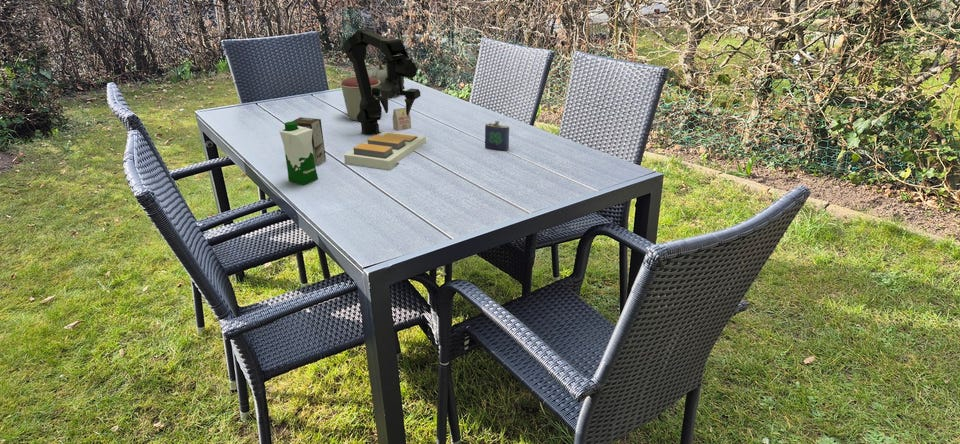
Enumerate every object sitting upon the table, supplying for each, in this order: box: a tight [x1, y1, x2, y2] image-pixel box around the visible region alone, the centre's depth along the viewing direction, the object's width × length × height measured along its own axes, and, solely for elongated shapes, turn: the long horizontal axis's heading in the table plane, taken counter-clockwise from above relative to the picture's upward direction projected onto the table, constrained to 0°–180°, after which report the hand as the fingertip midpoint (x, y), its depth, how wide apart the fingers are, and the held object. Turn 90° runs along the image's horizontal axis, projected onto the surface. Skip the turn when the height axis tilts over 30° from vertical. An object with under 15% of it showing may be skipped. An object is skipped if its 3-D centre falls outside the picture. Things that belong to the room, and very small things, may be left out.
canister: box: [339, 73, 380, 122], centre depth 262 cm, size 18×18×21 cm
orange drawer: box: [366, 134, 405, 150], centre depth 222 cm, size 13×6×3 cm, turn 69°
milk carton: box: [279, 121, 319, 186], centre depth 195 cm, size 9×9×20 cm
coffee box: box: [291, 116, 327, 167], centre depth 212 cm, size 9×6×16 cm
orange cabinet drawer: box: [383, 132, 418, 142], centre depth 231 cm, size 13×6×3 cm, turn 69°
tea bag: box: [392, 106, 412, 132], centre depth 247 cm, size 4×7×10 cm, turn 124°
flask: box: [484, 120, 510, 152], centre depth 226 cm, size 10×3×12 cm, turn 68°
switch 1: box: [352, 142, 393, 159], centre depth 213 cm, size 13×6×3 cm, turn 69°
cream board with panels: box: [343, 131, 427, 171], centre depth 224 cm, size 23×30×3 cm
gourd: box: [366, 62, 405, 87], centre depth 303 cm, size 25×25×17 cm
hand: (397, 114), depth 226 cm, fingers open, 9 cm apart
